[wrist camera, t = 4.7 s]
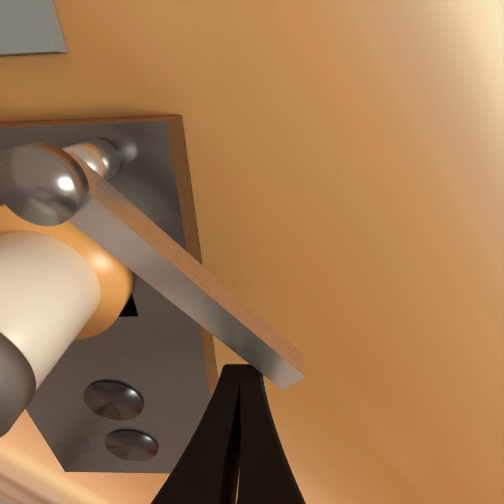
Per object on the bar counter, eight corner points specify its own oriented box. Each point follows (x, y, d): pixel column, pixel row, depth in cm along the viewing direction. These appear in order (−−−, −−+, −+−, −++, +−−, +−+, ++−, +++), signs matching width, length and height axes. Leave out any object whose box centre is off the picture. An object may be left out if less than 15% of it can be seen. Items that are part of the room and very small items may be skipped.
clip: (271, 339, 13) (273, 408, 10) (60, 156, 10) (-22, 185, 7) (305, 317, 12) (317, 384, 10) (92, 114, 9) (15, 127, 6)
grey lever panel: (81, 439, 21) (64, 473, 19) (-85, 126, 11) (-152, 134, 9) (226, 440, 20) (222, 475, 19) (181, 114, 11) (164, 121, 9)
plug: (49, 294, 15) (-119, 459, 8) (-2, 182, 12) (-306, 295, 6) (161, 293, 15) (78, 461, 8) (134, 177, 12) (-21, 290, 5)
